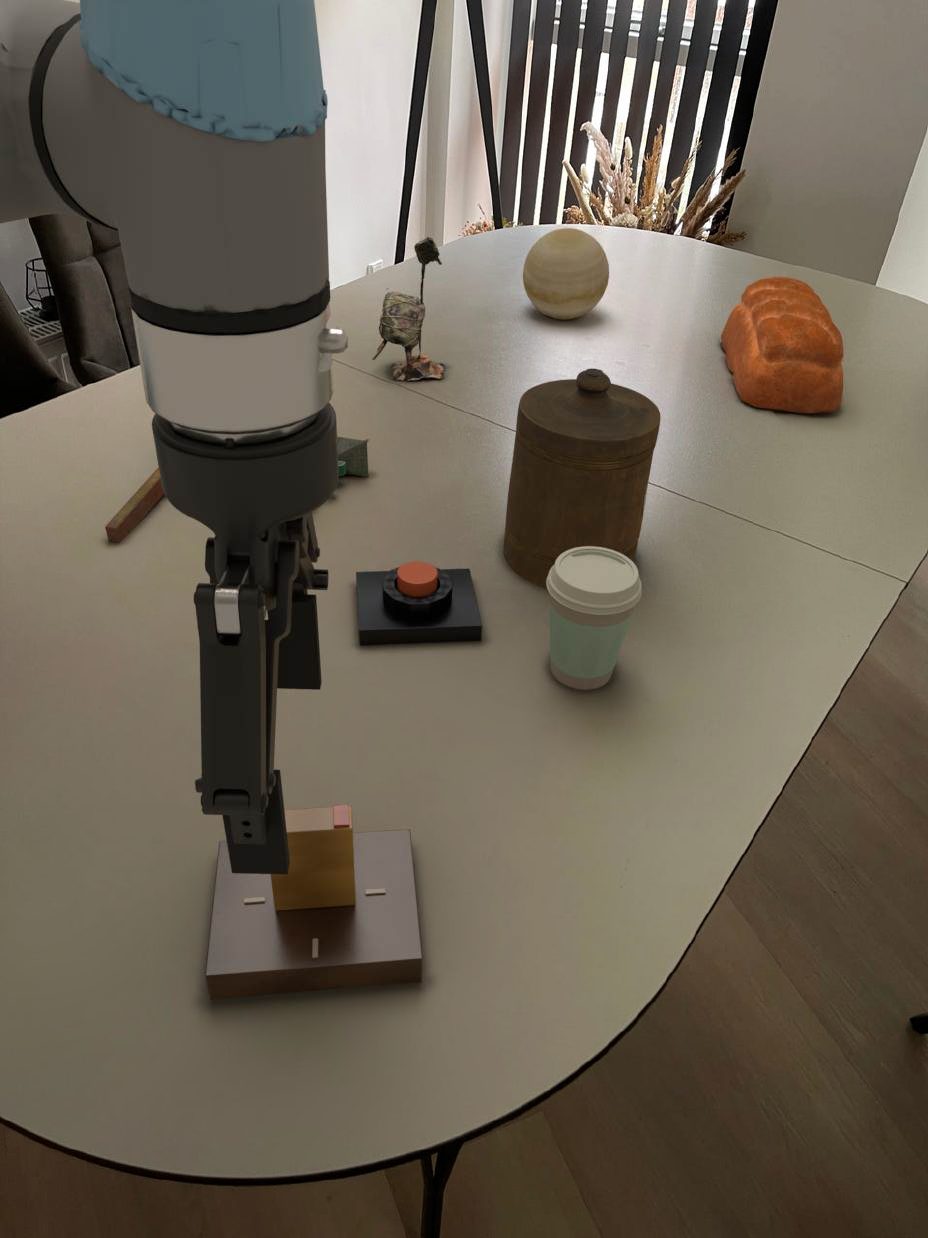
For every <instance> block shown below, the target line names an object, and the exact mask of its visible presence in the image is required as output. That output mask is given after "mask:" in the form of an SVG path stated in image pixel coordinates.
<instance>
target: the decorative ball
mask: <svg viewBox="0 0 928 1238" xmlns="http://www.w3.org/2000/svg"><path fill="white" fill-rule="evenodd" d="M609 280H610V263H609V260H608V257H607V254H606V252H605V249H604V248H603V246H602V245H601V243H600V242H599V241H598V240H597V239H596V238H595V237H594V236H592V235H591V234H589V233H587V232H586V231H584V230H581V229H578V228H573V227H564V228H557V229H554V230H551V231H550V232H547V233H546V234H543V236H541V237H540V238H538V240H537V241H536V242H535V243H534V244H533V245H532V246H531V248H530V249H529V252H528V253H527V254H526V258H525V260H524V264H523V270H522V282H523V287H524V292H525V295H526V296H527V298H528V299H529V301H530V303H531V305H532V306H533V307H535V308H536V309H537V310H538V311H539V312H540V313H541V314H543V315H545V316H547V317H549V318H552V319H556V320H560V321H561V320H565V321H566V320H573V319H574V320H575V319H577V318H580V317H582V316H585V315H587V314H588V313H589V312H591V311H592V310H593V309H594V308H596V307H597V305H598V304H599V303H600V301H601V300H602V299H603V297H604V295H605V293H606V290H607V289H608V285H609Z"/></svg>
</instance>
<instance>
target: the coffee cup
mask: <svg viewBox="0 0 928 1238" xmlns="http://www.w3.org/2000/svg"><path fill="white" fill-rule="evenodd" d="M546 585H547V588H546V589H547V591H548V593H549V646H550V647H549V654H550V660H549V661H550V671H551V675H552V676H553V677H554V679H556V680H557V681H558V682H560V684H562V685H564V686H566V687H569V688H572V689H575V690H583V691H585V690H586V691H588V690H589V691H590V690H595V689H598V688H601V687H603V686H605V685H606V684H607V683H609V681H610V680H611V677H612V674H613V671H614V668H615V666H616V663H617V660H618V657H619V654H620V651H621V648H622V645H623V642H624V639H625V636H626V634H627V633H626V632H627V630H628V627H629V624H630V621H631V618H632V615H633V612H634V609H635V606H636V605H638V603H639V601H641V597H642V592H643V591H642V581H641V578H640V575H639V569H638V567H637V565H636V564H635V562H634V563H633V562H632V561H631V560H630V559H629V558H628V557H626V556H625V555H623V554H621V553H619V552H617V551H614V550H611V549H607V548H602V547H594V546H584V547H577V548H573V549H570V550H567V551H565V552H564V553H562V554H561V555H560V556H559V557H558V558H557V559H556V561H555V564H554V565H553V566H552V568H551V569H550V571H549V575H548V577H547V581H546Z"/></svg>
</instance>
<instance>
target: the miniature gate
mask: <svg viewBox="0 0 928 1238" xmlns="http://www.w3.org/2000/svg"><path fill="white" fill-rule="evenodd" d="M369 441H370V439H369V438H366V439H364V440H363V439H356V438H349V437H342V436H337V447H338V471H339V477H342V476H345V475H349V476H357V477H361V478H362V477H363V478H369V477H370V474H369V460H368V459H369V458H368V442H369ZM338 486H339V482H338V483H337V486H336V488H335V490H336V489H337V488H338ZM163 496H165V494H164V492H163V489H162V484H161V478H160V472H159V466H158V467H157V468H156V470H154V472H153V473H151V475H150V476H149V477H148V478H147V479H146V480H145V481H144V483H143V484H141V486H140V487H139V488H138V489H137V491H135V493H134V494H133V495H132V496H131V497H130V498H129V500H127V502H126V503H125V504H124V505H123V506H122V507H121V508H120V510H119V511H117V512H116V514H115V515H114V516H113V517H112V518H111V519H110V521H108V523H106V525H105V526H104V528H105V532H106V535H107V539H108V542H112V543H119V544H121V542H123V540H124V539H125V538H127V536H128V535H129V534H131V532H133V530H134V529H135V528H137V526H138V525H139V524H140V523H141V521H142V520H143V519H144V518H145V517H146V516H147V514H149V512H151V510H152V509H153V508H154V507H155V505H156V504H157V503H158V502H159V501H160V499H161V498H162V497H163Z"/></svg>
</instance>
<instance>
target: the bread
mask: <svg viewBox="0 0 928 1238" xmlns="http://www.w3.org/2000/svg"><path fill="white" fill-rule="evenodd" d="M720 340H721V342H720V343H721V348H722V349H723V352H724V353H725V362H726V365H727V368H728V370H729V371H730V372H731V373H732V382H733V385H734V387H735V390H736V393H737V395H738V397H739V399H740V401H742V402H744V403H746V404H747V405H749V406H751V407H753V408H756V409H763V410H770V411H777V412H778V411H779V412H786V413H787V412H789V413H797V414H825V413H831V412H834V411H836V410H838V409H839V408H840V407H841V406H842V399H843V391H844V370H843V366H842V362H843V358H844V345H843V342H844V341H843V337H842V334H841V331H840V330H839V329H838V327H837V326H836V325H835V323H834V322H833V319H832V316H831V314H830V312H829V310H828V308H827V307H826V306H825V304H824V303H823V301H822V299H821V298H820V296H819V295H818V294H817V293H816V292H815V290H814V289H813V287H812V286H810V285H809V284H808V283H806V282H805V281H802V280H800V279H795V278H793V277H788V276H787V277H786V276H772V277H766V278H765V277H764V278H761V279H758V280H756V281H754V282H752V283H751V284H749V285H747V286H746V287H745V289H744V291H743V293H742V294H741V296H740V302H739V303H738V304H736V305H735V306H733V309H732V310H731V312H730V314H729V316H728V317H727V320H726V323H725V325H724V327H723V330H722V332H721V335H720Z"/></svg>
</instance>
